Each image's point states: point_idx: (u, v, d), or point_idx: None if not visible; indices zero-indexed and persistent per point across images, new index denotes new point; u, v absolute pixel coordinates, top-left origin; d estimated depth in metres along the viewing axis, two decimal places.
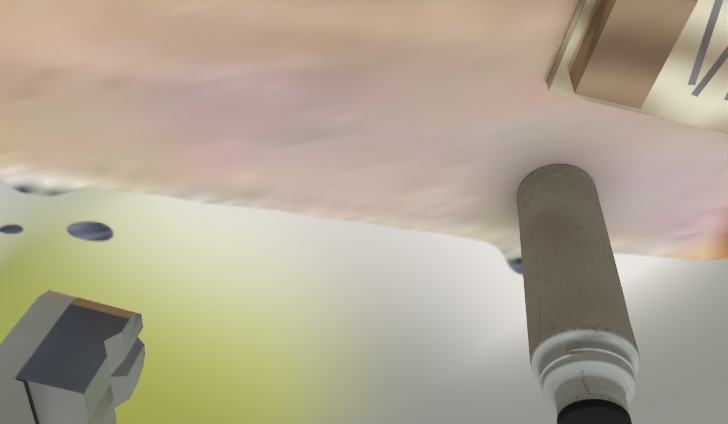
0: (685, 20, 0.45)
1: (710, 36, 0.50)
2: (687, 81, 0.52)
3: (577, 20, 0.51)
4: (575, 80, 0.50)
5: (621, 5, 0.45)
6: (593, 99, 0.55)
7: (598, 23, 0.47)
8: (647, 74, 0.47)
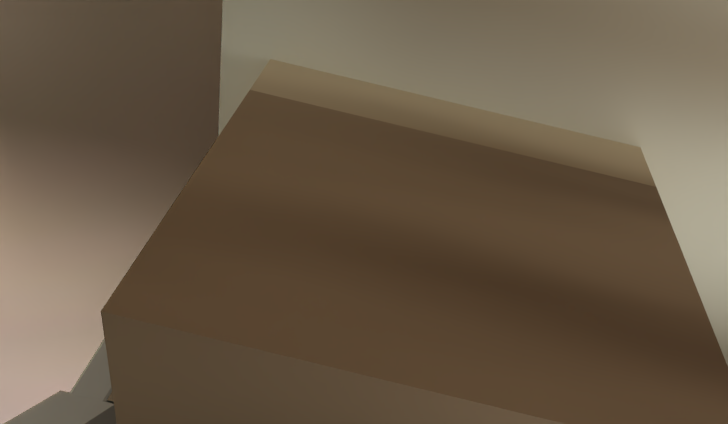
0: None
1: None
2: None
3: None
4: None
5: None
6: None
7: None
8: None
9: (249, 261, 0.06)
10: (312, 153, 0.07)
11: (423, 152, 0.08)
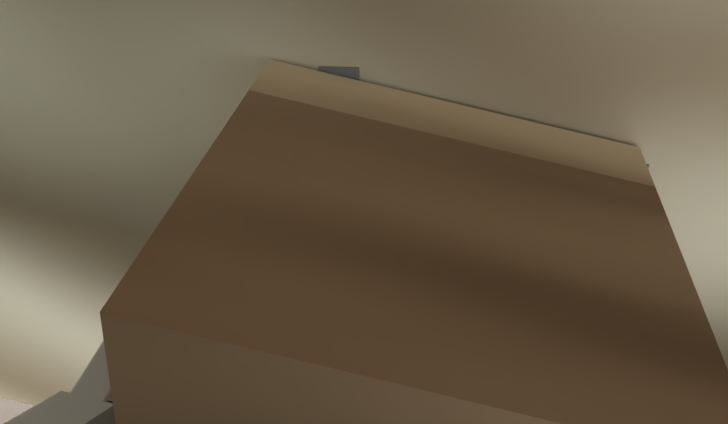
0: None
1: None
2: None
3: None
4: None
5: None
6: None
7: None
8: None
9: (248, 261, 0.06)
10: (311, 153, 0.07)
11: (422, 151, 0.08)
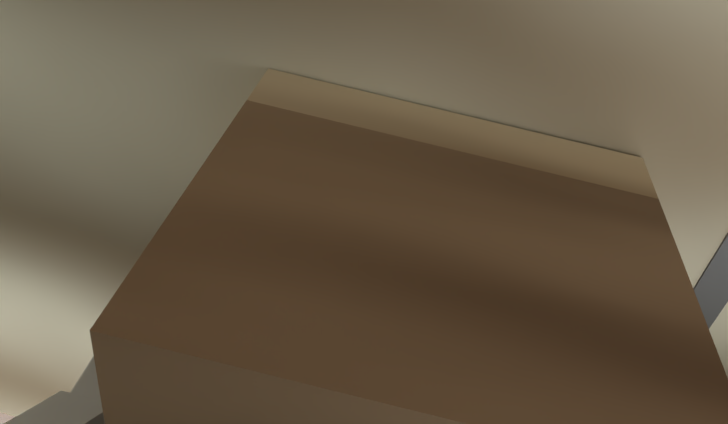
0: None
1: None
2: None
3: None
4: None
5: None
6: None
7: None
8: None
9: (242, 277, 0.05)
10: (309, 165, 0.07)
11: (422, 163, 0.07)
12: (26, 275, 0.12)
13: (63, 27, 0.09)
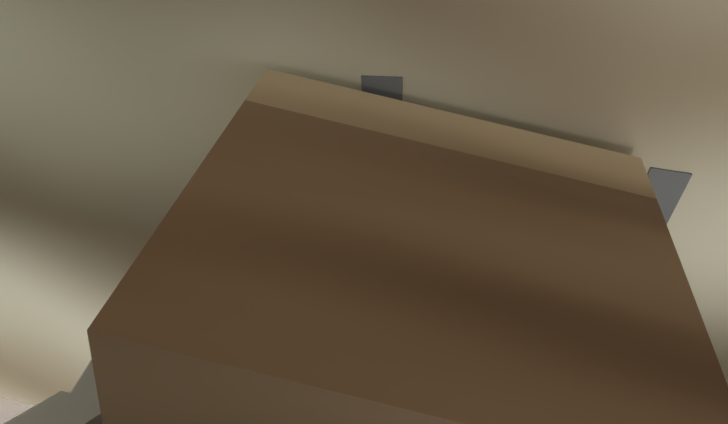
0: None
1: None
2: None
3: None
4: None
5: None
6: None
7: None
8: None
9: (239, 277, 0.05)
10: (307, 165, 0.07)
11: (420, 163, 0.07)
12: None
13: None
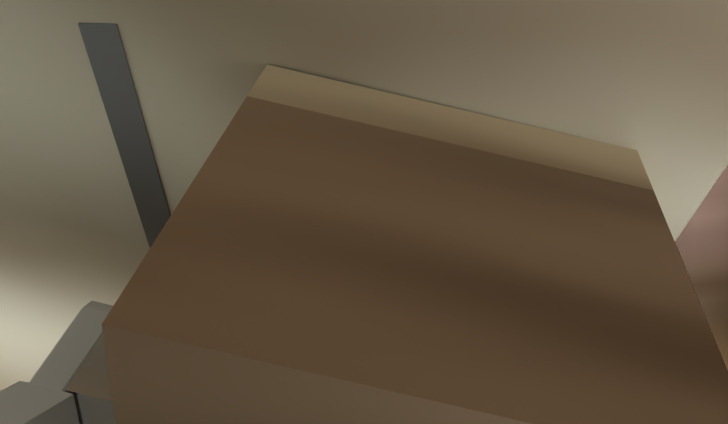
0: None
1: (167, 220, 0.11)
2: None
3: None
4: None
5: None
6: None
7: None
8: None
9: (249, 271, 0.06)
10: (311, 160, 0.07)
11: (422, 156, 0.08)
12: None
13: None
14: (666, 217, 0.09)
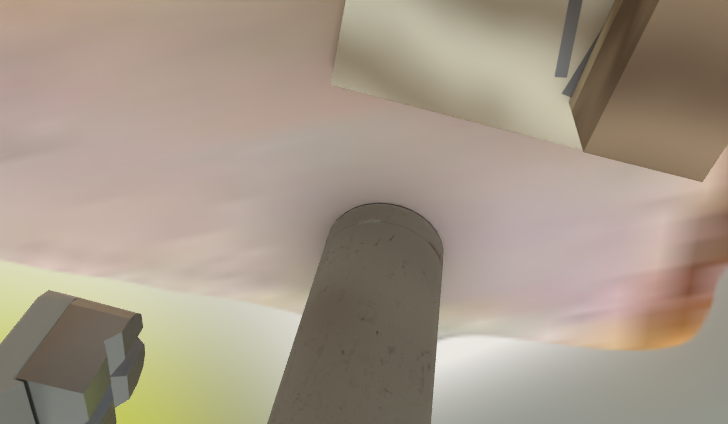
0: None
1: None
2: (553, 70, 0.30)
3: None
4: (584, 127, 0.28)
5: None
6: (404, 100, 0.32)
7: (630, 24, 0.25)
8: (721, 120, 0.25)
9: None
10: None
11: None
12: None
13: None
14: None
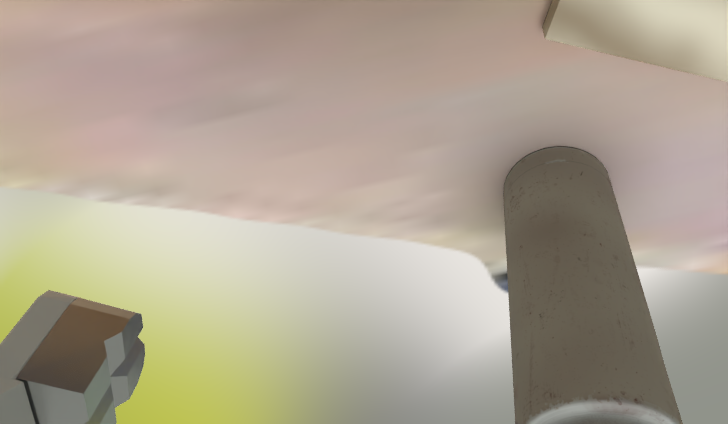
0: None
1: None
2: None
3: None
4: None
5: None
6: (609, 50, 0.38)
7: None
8: None
9: None
10: None
11: None
12: None
13: None
14: None
